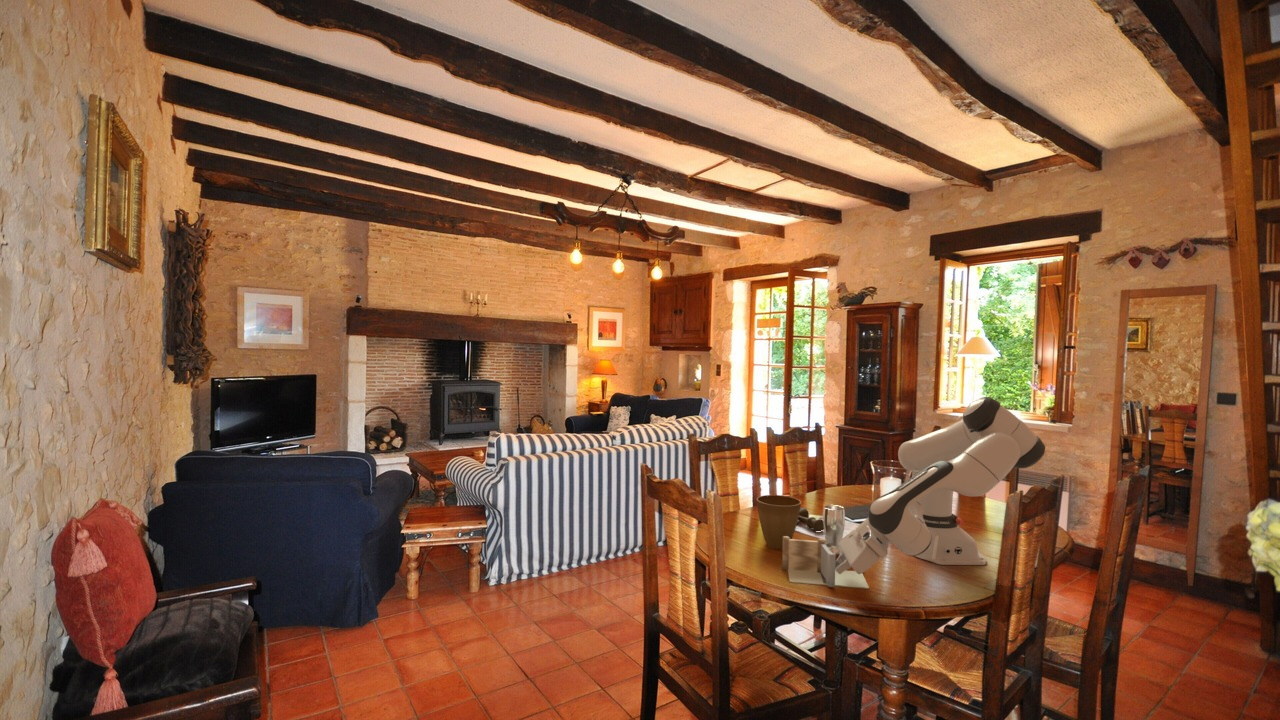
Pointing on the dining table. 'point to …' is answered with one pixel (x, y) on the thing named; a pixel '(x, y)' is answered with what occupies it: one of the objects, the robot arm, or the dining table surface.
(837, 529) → the beer glass
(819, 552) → the fence fixed section
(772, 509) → the plant pot
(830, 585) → the fence gate
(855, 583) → the card
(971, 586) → the dining table surface
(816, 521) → the kendama
